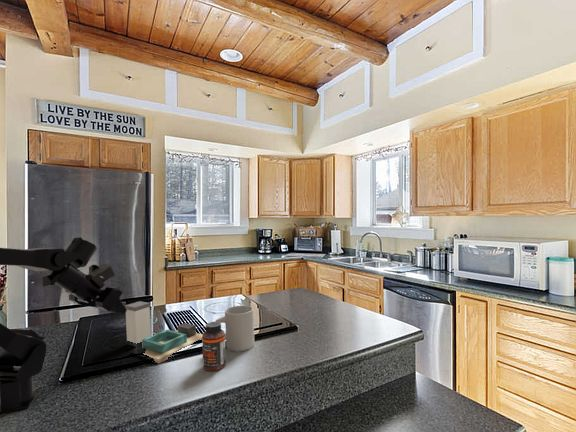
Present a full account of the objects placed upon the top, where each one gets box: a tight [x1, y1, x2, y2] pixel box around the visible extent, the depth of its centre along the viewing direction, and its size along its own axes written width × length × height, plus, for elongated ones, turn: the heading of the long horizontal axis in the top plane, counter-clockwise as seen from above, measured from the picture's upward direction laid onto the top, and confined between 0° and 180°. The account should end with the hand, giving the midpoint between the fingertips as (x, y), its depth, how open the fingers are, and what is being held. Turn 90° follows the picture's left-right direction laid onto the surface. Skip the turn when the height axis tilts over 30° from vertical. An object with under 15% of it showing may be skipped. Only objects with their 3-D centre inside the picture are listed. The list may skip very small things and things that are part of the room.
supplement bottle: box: [201, 321, 227, 372], centre depth 85 cm, size 6×6×11 cm
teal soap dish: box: [142, 322, 203, 364], centre depth 98 cm, size 18×13×4 cm
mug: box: [214, 305, 256, 352], centre depth 96 cm, size 12×8×11 cm
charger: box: [124, 301, 152, 344], centre depth 102 cm, size 5×5×12 cm
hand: (116, 309), depth 96 cm, fingers open, 9 cm apart
